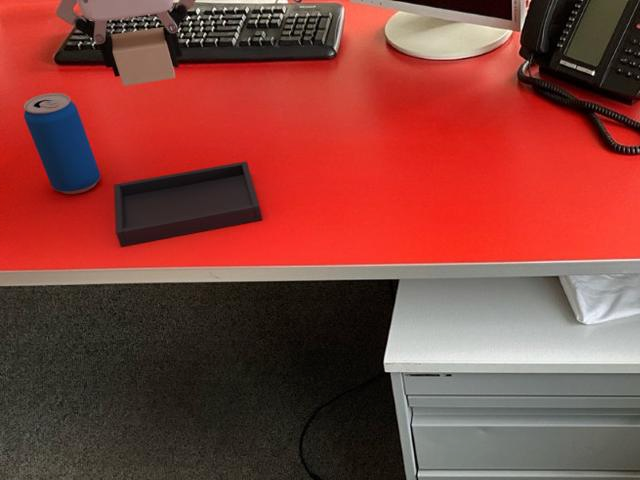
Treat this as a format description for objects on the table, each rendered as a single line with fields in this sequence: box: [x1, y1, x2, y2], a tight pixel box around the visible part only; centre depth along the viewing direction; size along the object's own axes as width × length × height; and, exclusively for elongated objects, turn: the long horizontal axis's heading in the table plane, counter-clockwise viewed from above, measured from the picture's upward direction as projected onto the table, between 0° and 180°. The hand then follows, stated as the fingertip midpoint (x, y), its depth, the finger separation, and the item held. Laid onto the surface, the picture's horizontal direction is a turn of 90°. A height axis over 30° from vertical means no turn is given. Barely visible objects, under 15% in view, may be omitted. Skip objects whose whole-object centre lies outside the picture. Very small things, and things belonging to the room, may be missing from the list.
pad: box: [111, 26, 176, 87], centre depth 106 cm, size 6×6×4 cm
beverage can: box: [23, 92, 102, 195], centre depth 119 cm, size 6×6×12 cm
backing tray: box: [113, 161, 263, 247], centre depth 117 cm, size 18×13×2 cm
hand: (146, 66), depth 107 cm, fingers closed on pad, 6 cm apart
